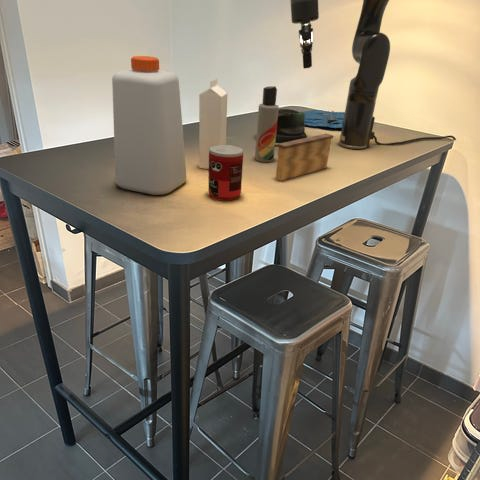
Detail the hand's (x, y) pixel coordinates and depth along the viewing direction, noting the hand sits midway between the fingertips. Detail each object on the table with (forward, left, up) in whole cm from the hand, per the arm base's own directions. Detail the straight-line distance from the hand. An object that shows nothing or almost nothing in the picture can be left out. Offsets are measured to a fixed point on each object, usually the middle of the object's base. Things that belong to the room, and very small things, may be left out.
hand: (307, 67), depth 133 cm
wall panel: (+9, +20, -24) cm, 32 cm away
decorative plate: (-33, -35, -24) cm, 54 cm away
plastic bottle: (+52, +18, -24) cm, 60 cm away
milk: (+32, +8, -24) cm, 41 cm away
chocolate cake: (-3, -14, -24) cm, 28 cm away
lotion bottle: (+14, +5, -24) cm, 29 cm away
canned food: (+37, +30, -24) cm, 53 cm away
